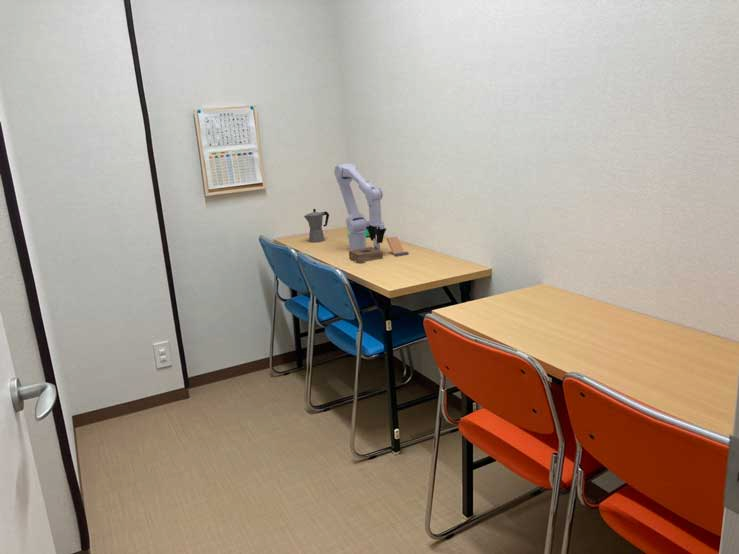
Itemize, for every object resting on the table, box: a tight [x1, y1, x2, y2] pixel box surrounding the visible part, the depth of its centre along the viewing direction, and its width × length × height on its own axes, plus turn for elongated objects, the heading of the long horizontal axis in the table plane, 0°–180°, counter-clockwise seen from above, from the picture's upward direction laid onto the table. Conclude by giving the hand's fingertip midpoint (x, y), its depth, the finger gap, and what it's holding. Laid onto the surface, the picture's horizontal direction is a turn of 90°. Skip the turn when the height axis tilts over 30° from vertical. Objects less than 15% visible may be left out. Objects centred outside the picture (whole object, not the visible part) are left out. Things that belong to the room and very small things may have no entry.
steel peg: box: [372, 237, 381, 251], centre depth 287 cm, size 3×3×8 cm
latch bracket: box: [393, 251, 410, 258], centre depth 280 cm, size 2×7×2 cm, turn 116°
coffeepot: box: [303, 208, 330, 243], centre depth 326 cm, size 15×9×18 cm, turn 122°
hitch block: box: [348, 246, 384, 264], centre depth 278 cm, size 12×12×4 cm
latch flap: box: [386, 236, 405, 255], centre depth 284 cm, size 11×6×1 cm
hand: (376, 241), depth 286 cm, fingers open, 7 cm apart
